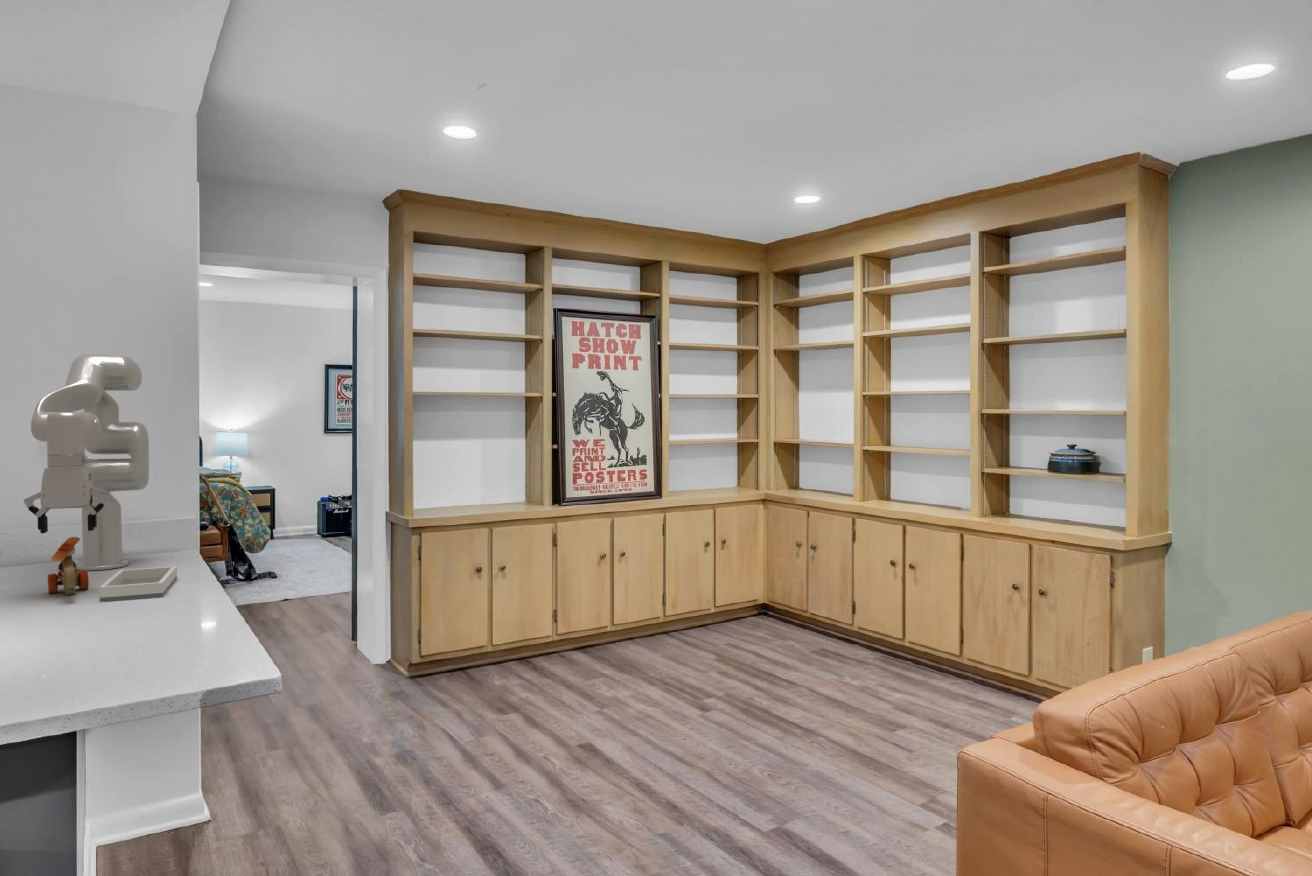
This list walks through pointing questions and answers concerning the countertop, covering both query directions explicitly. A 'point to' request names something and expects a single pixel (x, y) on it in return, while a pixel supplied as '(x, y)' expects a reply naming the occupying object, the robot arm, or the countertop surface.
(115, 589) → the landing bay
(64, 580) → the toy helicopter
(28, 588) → the countertop surface
